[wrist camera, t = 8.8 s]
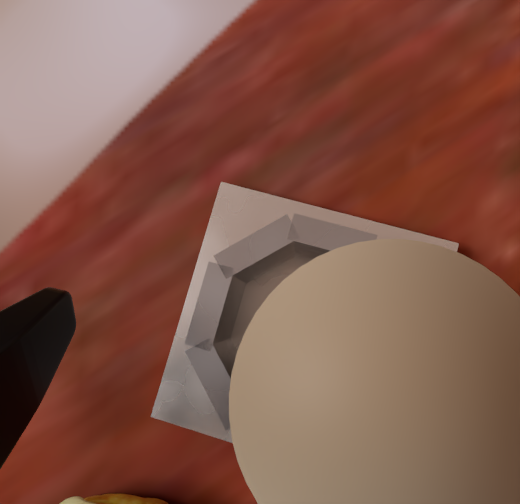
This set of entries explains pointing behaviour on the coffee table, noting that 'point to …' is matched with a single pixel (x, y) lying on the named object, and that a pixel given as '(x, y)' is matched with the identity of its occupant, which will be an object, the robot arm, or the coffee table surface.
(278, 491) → the wooden post
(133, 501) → the decorated donut
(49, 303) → the robot arm
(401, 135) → the coffee table surface
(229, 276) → the cup bracket
